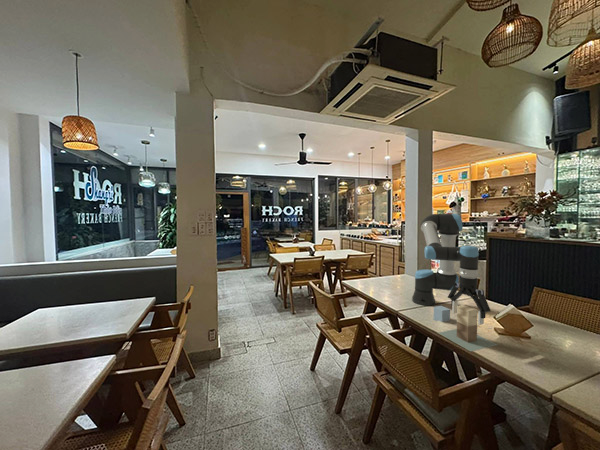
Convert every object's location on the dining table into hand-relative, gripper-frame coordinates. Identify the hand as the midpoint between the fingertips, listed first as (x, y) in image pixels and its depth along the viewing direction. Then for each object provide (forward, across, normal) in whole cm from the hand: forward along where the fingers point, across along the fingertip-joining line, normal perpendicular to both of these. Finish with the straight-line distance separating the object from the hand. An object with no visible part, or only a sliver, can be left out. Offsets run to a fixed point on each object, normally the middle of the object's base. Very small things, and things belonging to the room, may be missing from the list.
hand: (467, 318), depth 120 cm
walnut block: (+10, 0, 0) cm, 10 cm away
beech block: (+2, 0, 0) cm, 2 cm away
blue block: (+12, -21, +7) cm, 25 cm away
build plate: (+12, 0, 0) cm, 12 cm away
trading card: (+12, -15, +23) cm, 30 cm away
